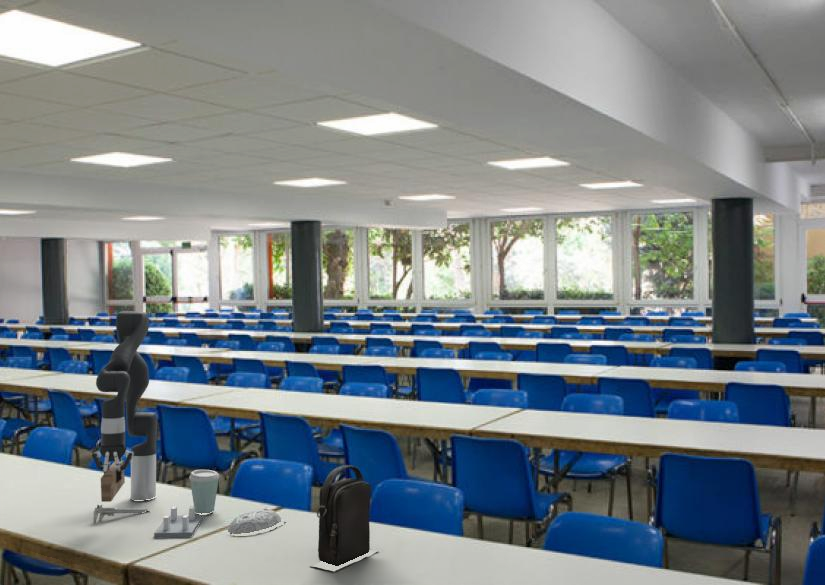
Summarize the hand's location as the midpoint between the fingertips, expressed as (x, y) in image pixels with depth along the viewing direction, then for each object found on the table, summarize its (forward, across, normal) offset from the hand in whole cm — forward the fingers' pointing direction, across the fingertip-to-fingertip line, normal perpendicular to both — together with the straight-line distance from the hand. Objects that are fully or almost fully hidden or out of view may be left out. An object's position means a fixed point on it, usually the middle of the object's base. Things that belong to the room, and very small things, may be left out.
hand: (112, 481), depth 263 cm
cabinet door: (+4, 0, -1) cm, 4 cm away
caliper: (+17, +1, -15) cm, 22 cm away
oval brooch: (+17, -47, 0) cm, 50 cm away
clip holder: (+16, -22, 0) cm, 27 cm away
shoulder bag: (+16, -78, +35) cm, 87 cm away
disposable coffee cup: (+16, -27, -18) cm, 36 cm away
